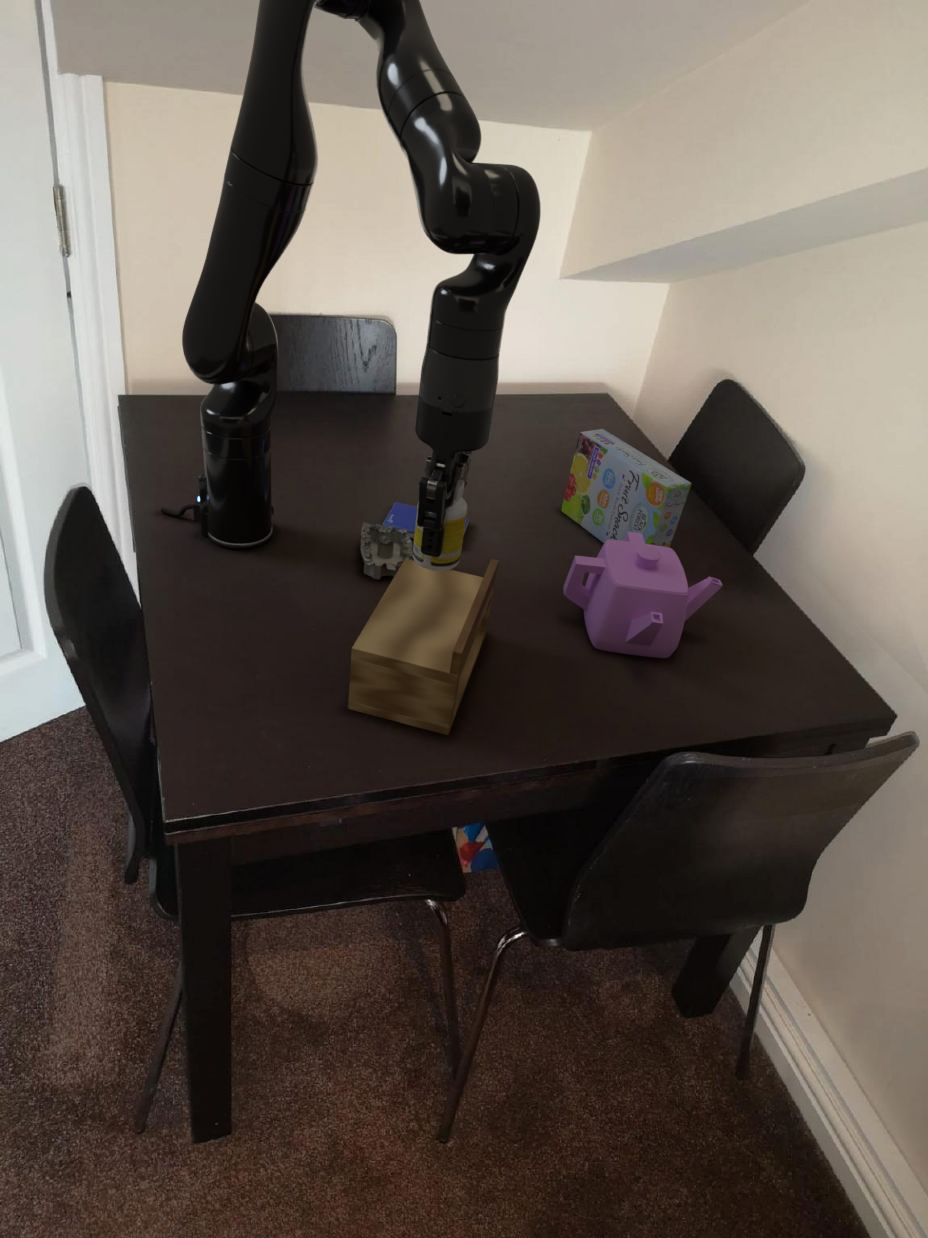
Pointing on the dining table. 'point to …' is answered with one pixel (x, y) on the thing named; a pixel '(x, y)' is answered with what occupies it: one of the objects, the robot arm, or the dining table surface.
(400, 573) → the lipped wooden block
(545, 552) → the dining table surface
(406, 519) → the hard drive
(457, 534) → the supplement bottle
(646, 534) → the snack box
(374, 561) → the egg carton
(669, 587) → the teakettle
